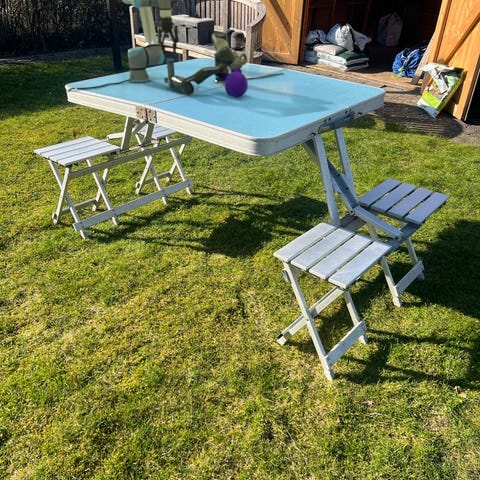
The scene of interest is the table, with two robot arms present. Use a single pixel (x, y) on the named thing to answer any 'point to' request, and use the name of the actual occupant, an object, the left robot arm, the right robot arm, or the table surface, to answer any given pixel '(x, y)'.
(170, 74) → the bottle
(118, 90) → the table surface
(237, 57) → the teapot
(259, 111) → the table surface
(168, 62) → the lid
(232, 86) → the toy
